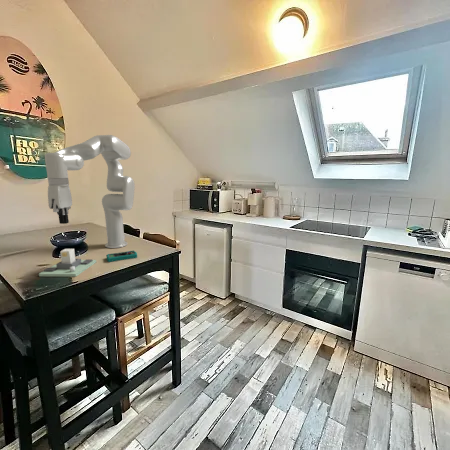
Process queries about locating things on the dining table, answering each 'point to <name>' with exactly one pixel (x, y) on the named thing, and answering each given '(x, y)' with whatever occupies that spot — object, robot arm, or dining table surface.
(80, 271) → the board
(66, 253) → the plug
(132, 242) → the dining table surface
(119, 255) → the digital multimeter
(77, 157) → the robot arm
